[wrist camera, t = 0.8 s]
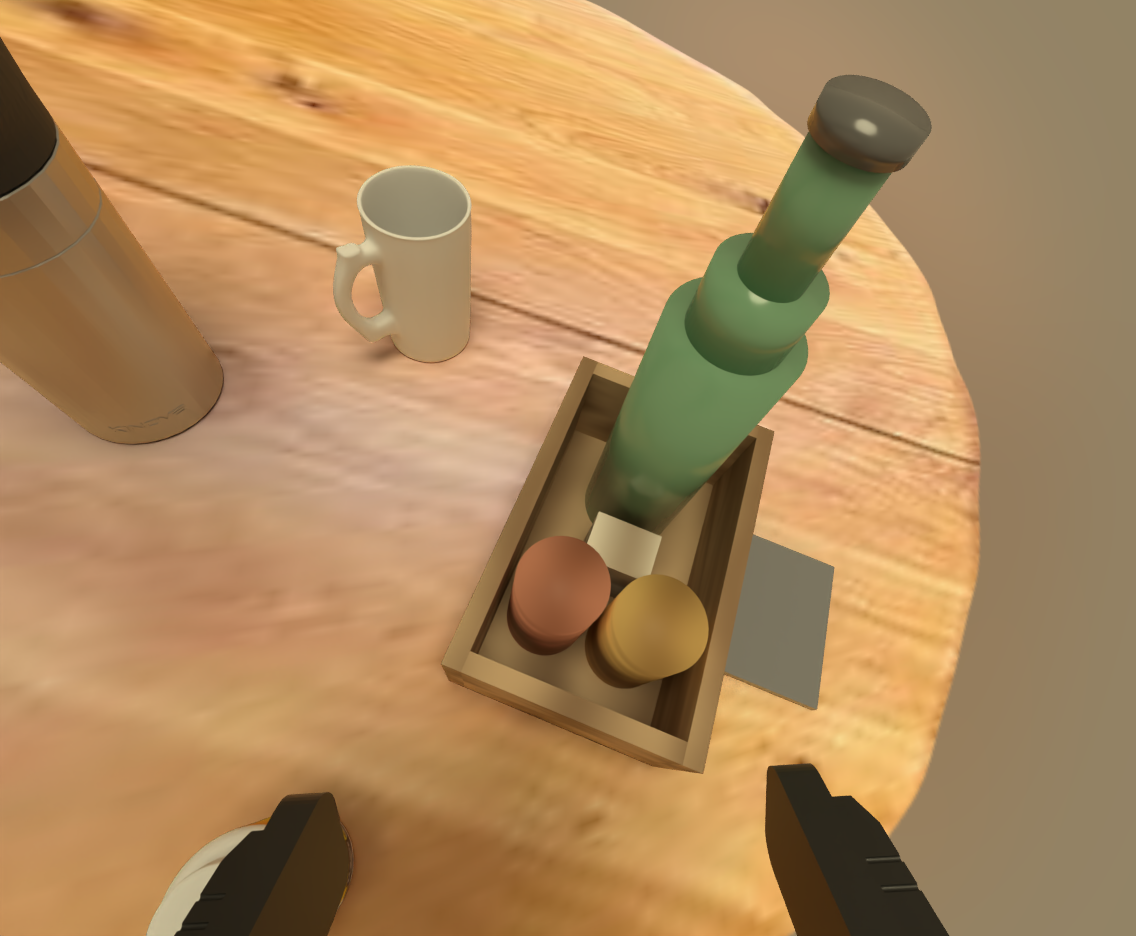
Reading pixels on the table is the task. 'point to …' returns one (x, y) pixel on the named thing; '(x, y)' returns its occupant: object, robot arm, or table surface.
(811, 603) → the coaster
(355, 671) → the table surface
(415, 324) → the mug
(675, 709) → the crate
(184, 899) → the supplement bottle
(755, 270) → the green bottle
